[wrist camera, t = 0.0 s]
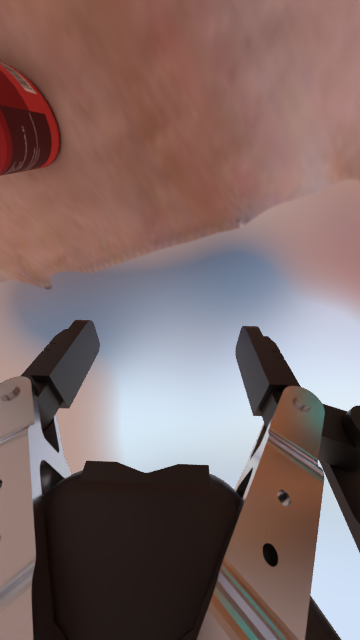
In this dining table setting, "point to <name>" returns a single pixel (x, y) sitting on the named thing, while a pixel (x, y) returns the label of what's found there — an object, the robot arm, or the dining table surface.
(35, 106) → the canned food
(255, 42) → the dining table surface
